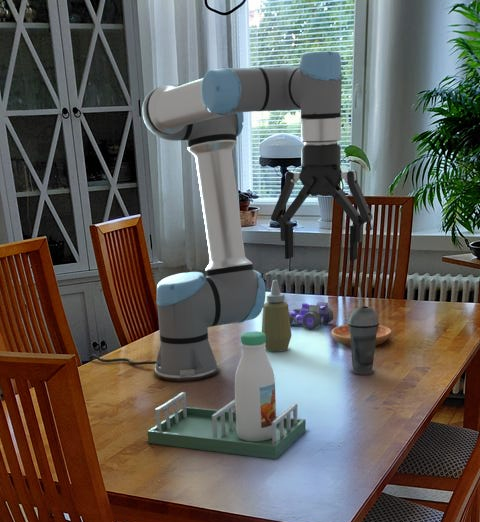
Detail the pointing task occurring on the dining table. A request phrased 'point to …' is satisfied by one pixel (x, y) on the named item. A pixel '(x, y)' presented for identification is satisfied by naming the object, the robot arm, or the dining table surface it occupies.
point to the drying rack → (221, 430)
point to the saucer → (344, 338)
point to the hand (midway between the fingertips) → (320, 258)
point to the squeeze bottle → (276, 320)
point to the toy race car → (311, 315)
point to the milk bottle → (254, 390)
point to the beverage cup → (363, 337)
